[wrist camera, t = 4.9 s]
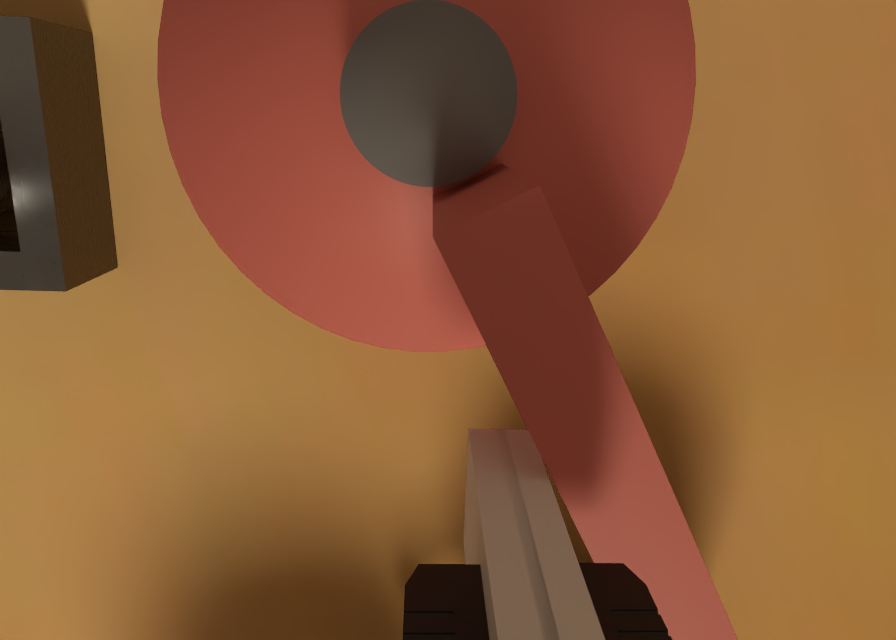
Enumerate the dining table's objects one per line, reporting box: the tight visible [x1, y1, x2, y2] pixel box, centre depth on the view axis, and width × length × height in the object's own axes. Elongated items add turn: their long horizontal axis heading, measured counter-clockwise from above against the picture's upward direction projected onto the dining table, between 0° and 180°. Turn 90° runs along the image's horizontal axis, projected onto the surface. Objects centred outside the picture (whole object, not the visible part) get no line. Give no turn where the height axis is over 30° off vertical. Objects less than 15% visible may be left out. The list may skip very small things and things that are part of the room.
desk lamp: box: [158, 0, 738, 640], centre depth 14 cm, size 12×19×8 cm, turn 26°
